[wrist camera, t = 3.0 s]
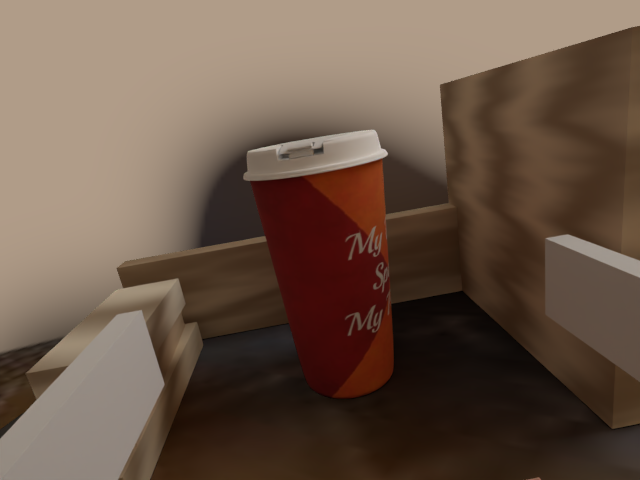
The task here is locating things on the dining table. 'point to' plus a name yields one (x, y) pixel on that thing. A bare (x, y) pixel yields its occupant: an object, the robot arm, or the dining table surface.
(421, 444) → the dining table surface
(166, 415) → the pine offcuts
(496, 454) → the dining table surface
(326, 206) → the paper cup
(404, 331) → the dining table surface
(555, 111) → the oak rack
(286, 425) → the dining table surface
